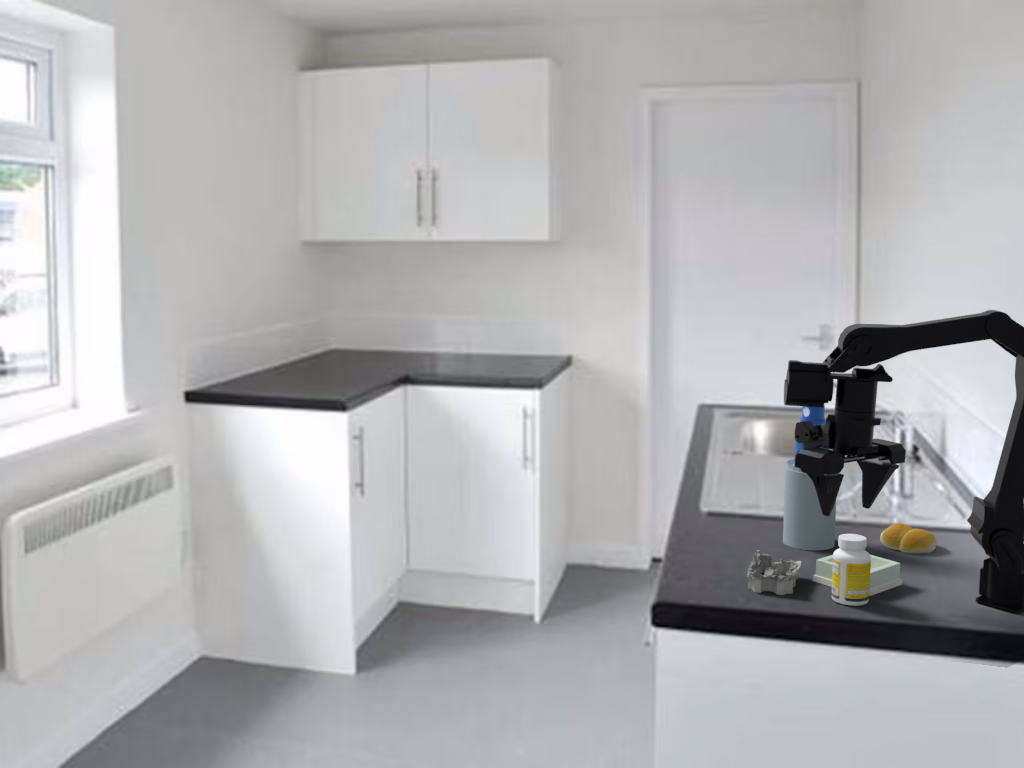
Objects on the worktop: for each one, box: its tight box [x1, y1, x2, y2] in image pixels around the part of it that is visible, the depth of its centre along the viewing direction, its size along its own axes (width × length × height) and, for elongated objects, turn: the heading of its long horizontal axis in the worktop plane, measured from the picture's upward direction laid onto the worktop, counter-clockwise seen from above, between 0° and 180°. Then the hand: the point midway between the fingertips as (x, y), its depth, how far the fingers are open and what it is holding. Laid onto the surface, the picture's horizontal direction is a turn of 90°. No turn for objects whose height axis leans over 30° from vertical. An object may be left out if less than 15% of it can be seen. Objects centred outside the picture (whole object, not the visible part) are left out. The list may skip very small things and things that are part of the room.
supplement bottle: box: [831, 533, 871, 607], centre depth 152 cm, size 5×5×10 cm
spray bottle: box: [782, 404, 837, 551], centre depth 180 cm, size 9×9×25 cm
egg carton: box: [746, 549, 802, 596], centre depth 161 cm, size 11×8×4 cm
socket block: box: [812, 554, 903, 597], centre depth 160 cm, size 10×10×4 cm
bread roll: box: [879, 523, 937, 555], centre depth 179 cm, size 8×9×4 cm
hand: (846, 511), depth 154 cm, fingers open, 9 cm apart
